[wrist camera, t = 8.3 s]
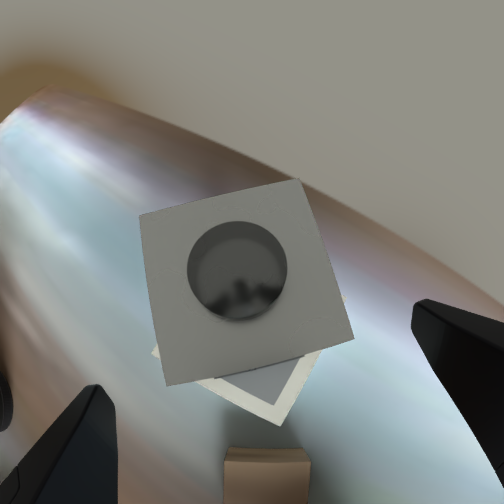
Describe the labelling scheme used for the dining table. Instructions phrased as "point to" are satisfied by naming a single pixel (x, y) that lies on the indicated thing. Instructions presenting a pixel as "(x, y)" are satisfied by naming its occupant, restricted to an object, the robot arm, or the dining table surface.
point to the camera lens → (5, 404)
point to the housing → (240, 283)
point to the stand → (264, 386)
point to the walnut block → (266, 476)
